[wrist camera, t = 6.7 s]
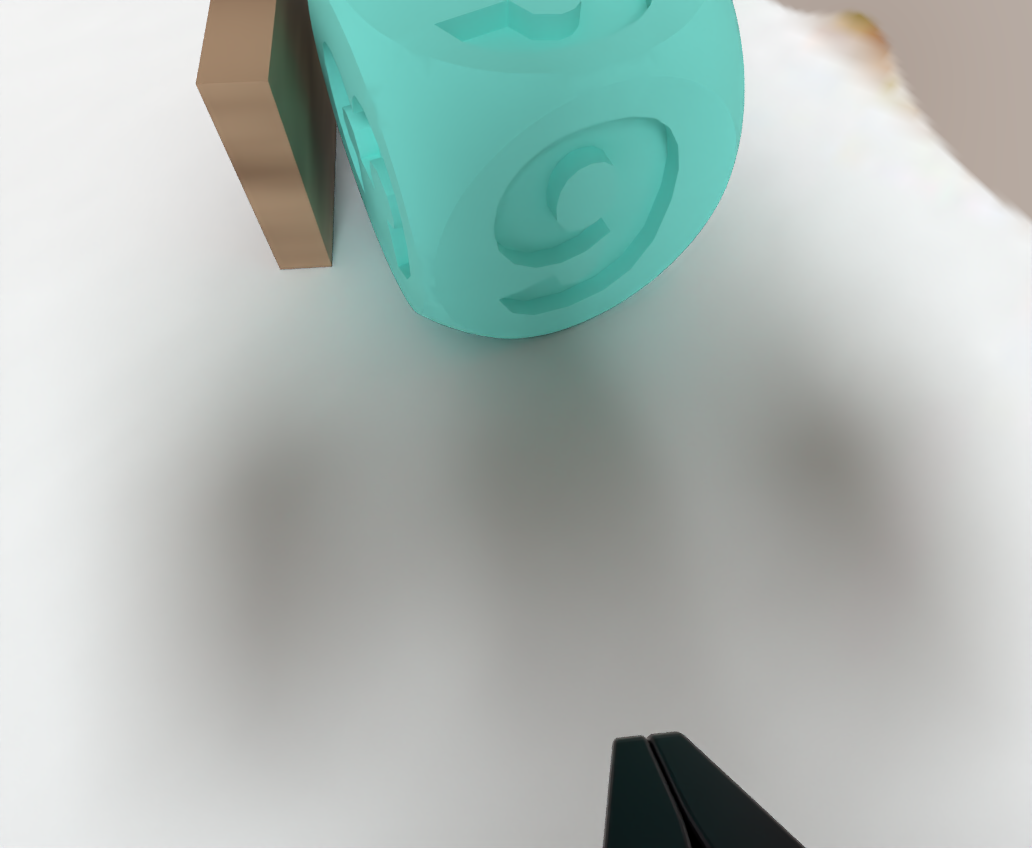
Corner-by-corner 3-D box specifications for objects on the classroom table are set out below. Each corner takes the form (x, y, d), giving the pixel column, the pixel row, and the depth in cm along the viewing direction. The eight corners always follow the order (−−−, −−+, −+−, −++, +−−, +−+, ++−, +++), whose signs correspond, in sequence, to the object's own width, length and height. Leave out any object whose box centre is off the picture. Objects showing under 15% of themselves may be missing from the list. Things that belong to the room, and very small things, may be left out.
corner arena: (629, 248, 20) (678, 64, 14) (280, 269, 19) (196, 83, 14) (584, 50, 24) (609, -150, 19) (296, 61, 23) (236, -144, 18)
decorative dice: (571, 117, 22) (607, -176, 15) (690, 287, 19) (804, 18, 12) (349, 181, 21) (272, -113, 14) (439, 379, 18) (401, 131, 11)
